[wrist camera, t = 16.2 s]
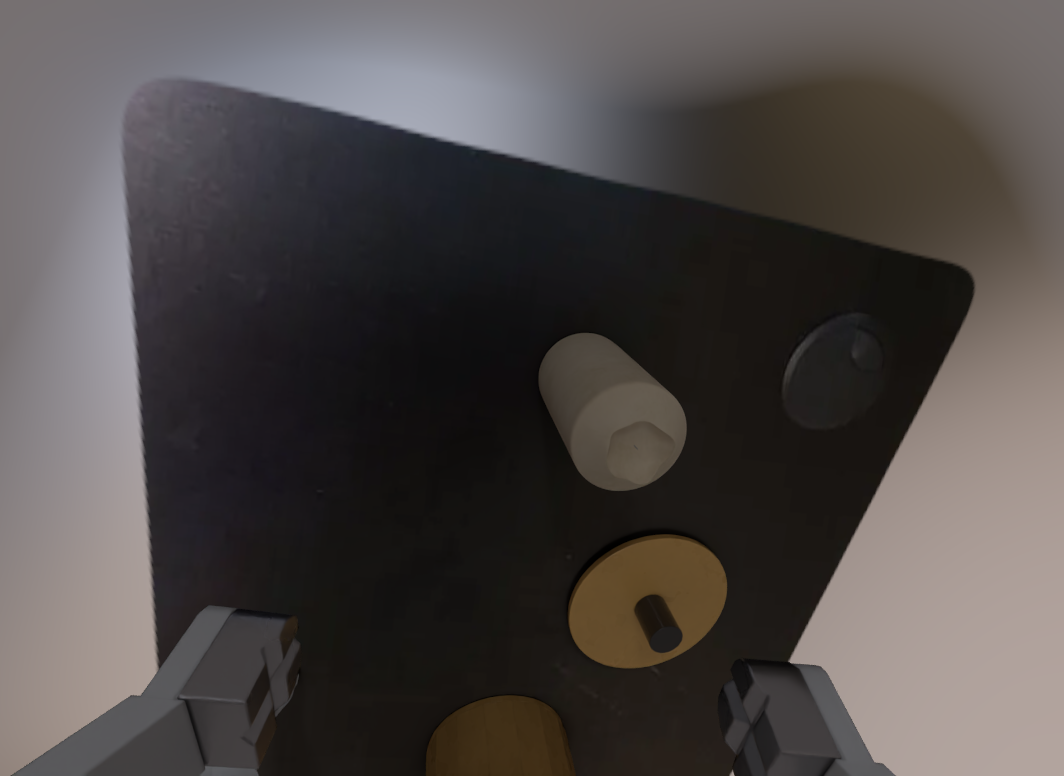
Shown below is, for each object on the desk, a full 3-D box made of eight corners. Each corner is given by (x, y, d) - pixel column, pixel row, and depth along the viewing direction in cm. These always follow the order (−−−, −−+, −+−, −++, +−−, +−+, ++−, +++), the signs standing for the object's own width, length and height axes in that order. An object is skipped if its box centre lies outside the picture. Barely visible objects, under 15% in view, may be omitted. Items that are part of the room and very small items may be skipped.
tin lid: (561, 665, 40) (574, 715, 36) (570, 536, 35) (585, 577, 32) (706, 646, 42) (733, 692, 38) (732, 522, 38) (765, 559, 34)
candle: (620, 322, 30) (698, 382, 21) (629, 405, 32) (704, 492, 23) (529, 342, 30) (570, 412, 21) (545, 425, 32) (588, 522, 23)
